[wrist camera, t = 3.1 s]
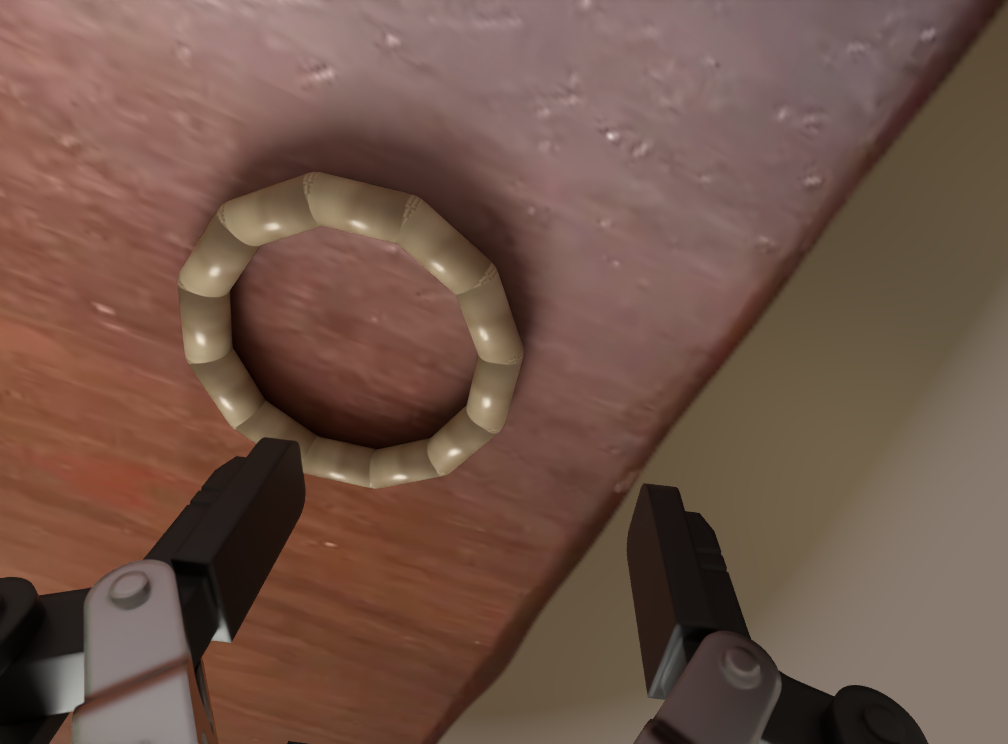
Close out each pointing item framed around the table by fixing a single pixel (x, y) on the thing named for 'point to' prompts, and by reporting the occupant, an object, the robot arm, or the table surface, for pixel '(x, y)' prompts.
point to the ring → (372, 216)
